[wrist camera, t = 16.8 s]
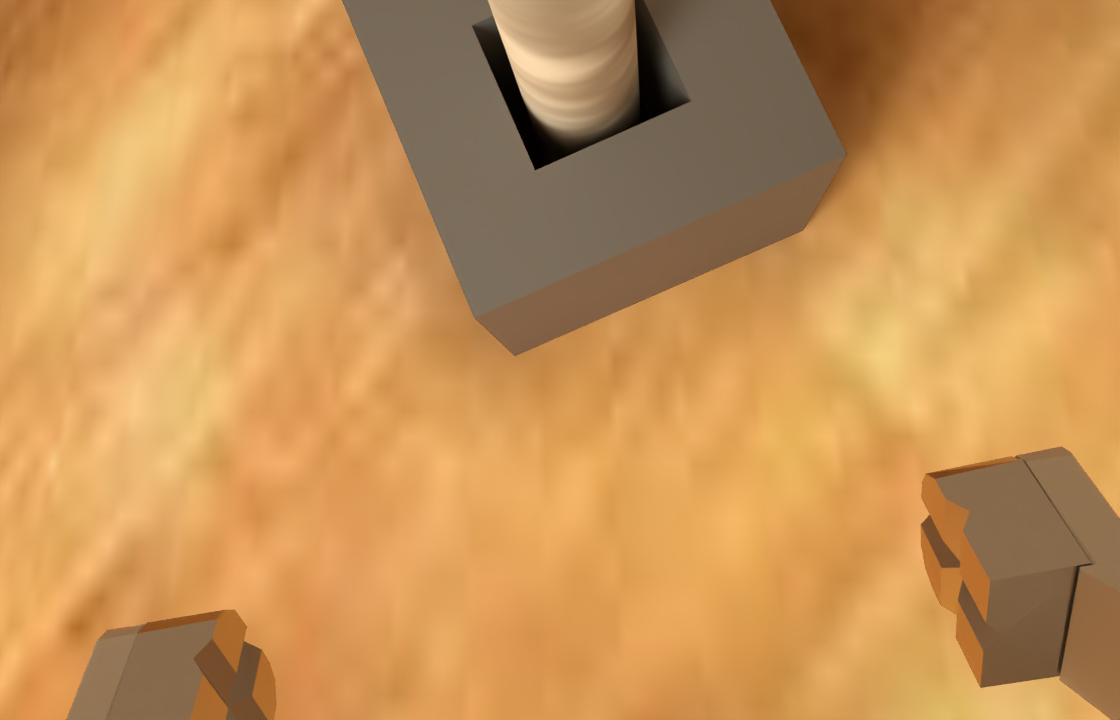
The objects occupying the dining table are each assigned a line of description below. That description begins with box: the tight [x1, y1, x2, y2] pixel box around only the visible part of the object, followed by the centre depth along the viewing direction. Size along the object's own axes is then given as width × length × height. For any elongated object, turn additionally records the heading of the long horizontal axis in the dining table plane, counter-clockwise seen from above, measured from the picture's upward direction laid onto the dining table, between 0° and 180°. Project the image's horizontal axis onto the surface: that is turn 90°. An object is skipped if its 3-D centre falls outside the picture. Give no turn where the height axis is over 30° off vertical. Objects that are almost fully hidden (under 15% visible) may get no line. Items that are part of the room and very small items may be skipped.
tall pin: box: [488, 0, 641, 165], centre depth 36 cm, size 4×4×18 cm
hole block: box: [342, 0, 847, 356], centre depth 40 cm, size 14×14×10 cm
